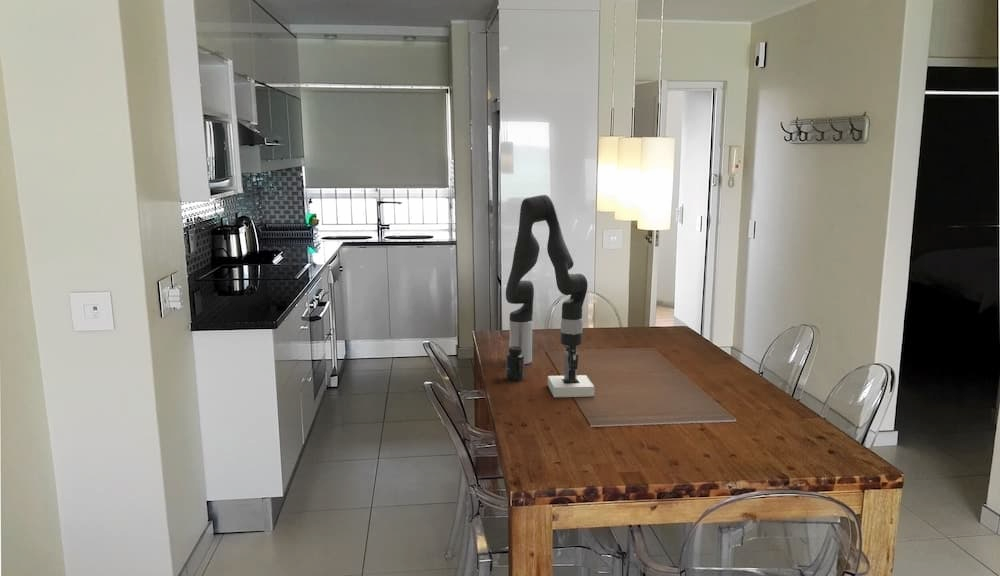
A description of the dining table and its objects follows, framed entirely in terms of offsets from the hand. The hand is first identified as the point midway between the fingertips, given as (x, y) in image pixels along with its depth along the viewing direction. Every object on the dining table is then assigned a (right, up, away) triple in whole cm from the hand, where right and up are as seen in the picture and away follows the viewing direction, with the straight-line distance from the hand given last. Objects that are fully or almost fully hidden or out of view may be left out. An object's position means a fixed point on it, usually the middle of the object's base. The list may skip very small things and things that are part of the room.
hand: (570, 377), depth 257 cm
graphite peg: (0, -4, +1) cm, 4 cm away
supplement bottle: (-19, -2, +15) cm, 25 cm away
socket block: (0, -5, +1) cm, 5 cm away
